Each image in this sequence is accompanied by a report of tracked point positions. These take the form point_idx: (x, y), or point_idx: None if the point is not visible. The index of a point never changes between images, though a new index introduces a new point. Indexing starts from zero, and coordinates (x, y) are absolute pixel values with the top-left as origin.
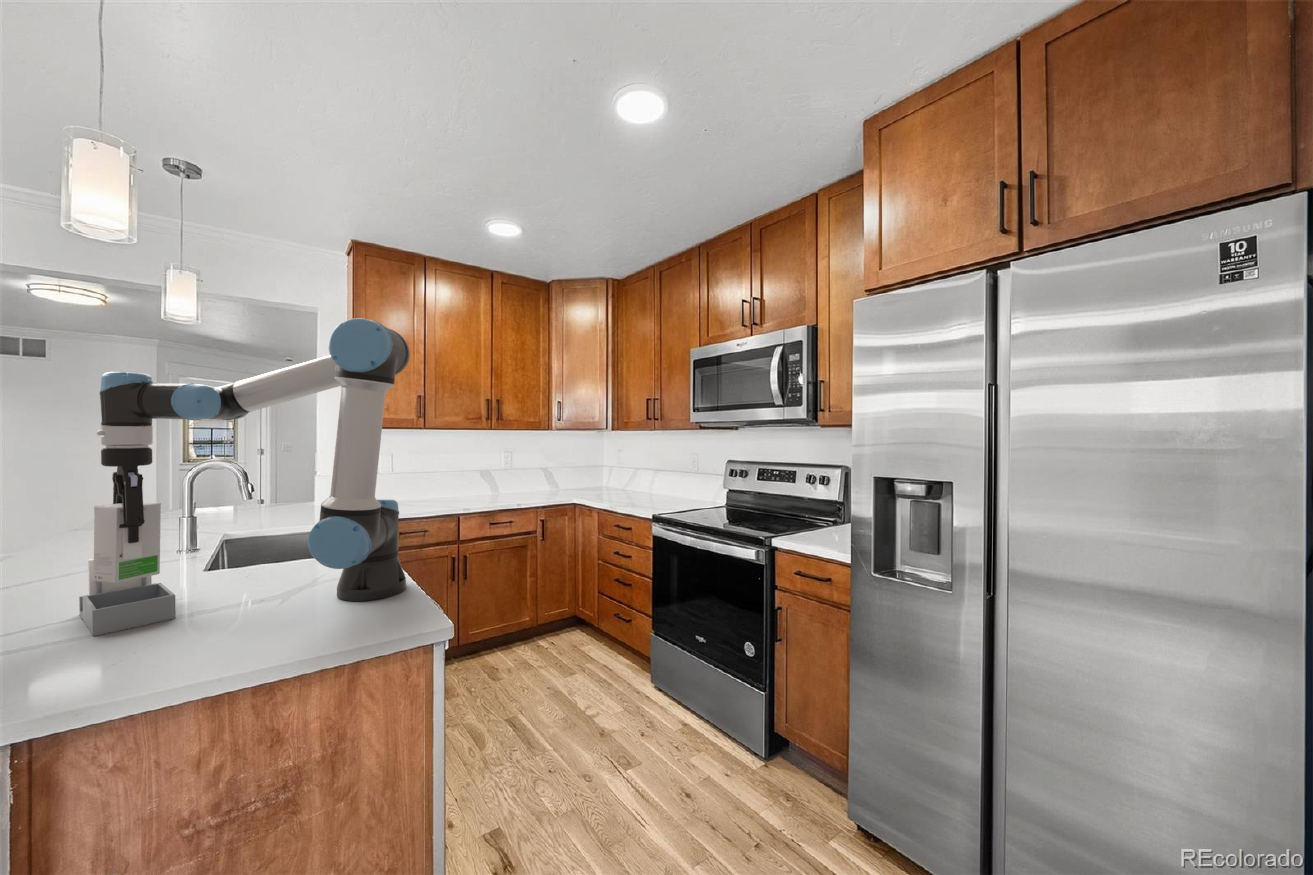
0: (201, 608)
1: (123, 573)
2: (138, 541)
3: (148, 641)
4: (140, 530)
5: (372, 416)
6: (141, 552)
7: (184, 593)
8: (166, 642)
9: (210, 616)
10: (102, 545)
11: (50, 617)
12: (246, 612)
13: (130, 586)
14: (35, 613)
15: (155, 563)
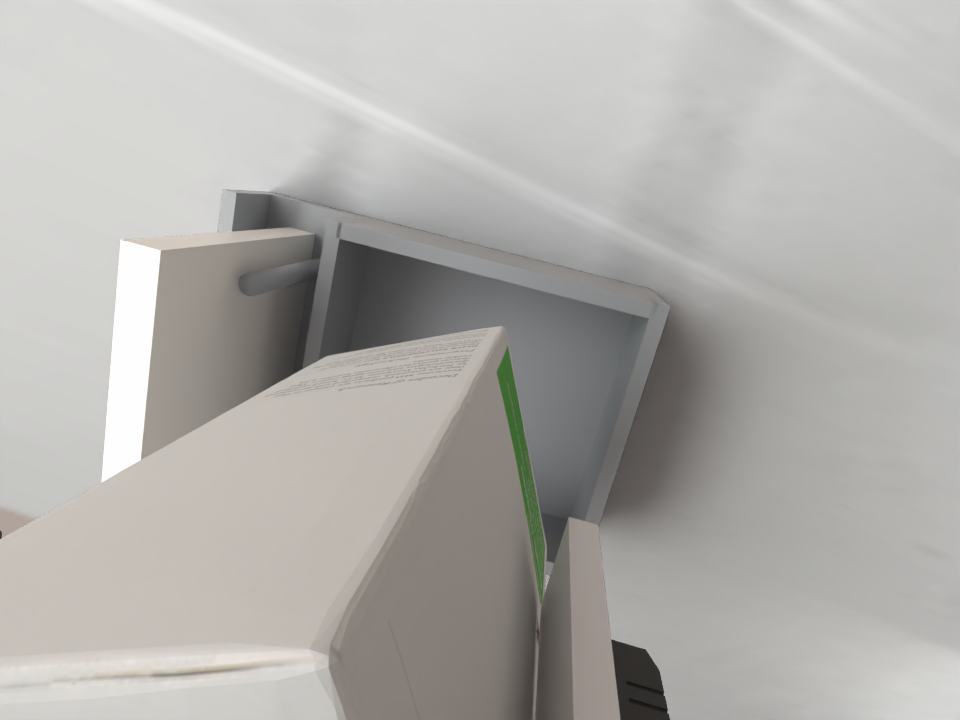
0: (611, 157)
1: (541, 542)
2: (648, 656)
3: (853, 477)
4: (614, 704)
5: None
6: (600, 549)
7: (260, 65)
8: (942, 457)
9: (786, 203)
10: None
11: None
12: (915, 81)
13: (262, 321)
14: (78, 478)
15: (504, 370)
